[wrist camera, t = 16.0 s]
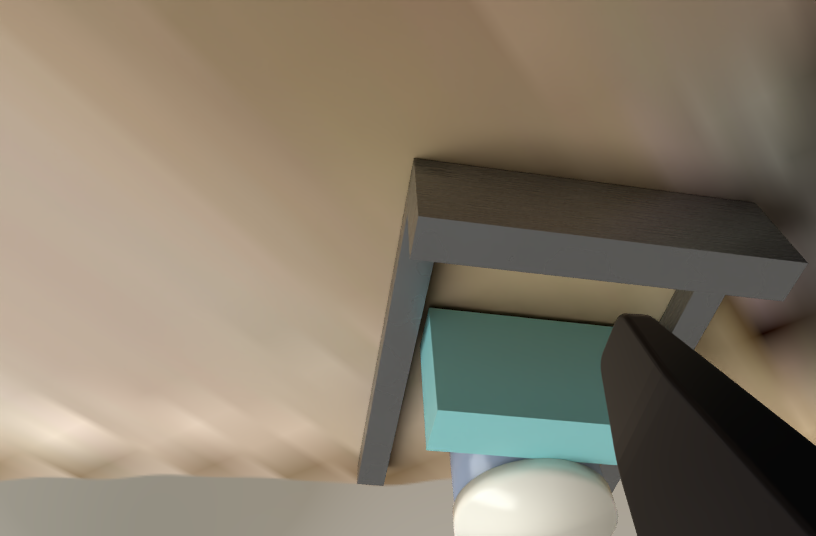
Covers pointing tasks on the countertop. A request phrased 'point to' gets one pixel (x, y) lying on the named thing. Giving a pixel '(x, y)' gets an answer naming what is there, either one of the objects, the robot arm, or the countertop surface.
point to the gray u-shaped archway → (566, 259)
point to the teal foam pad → (515, 387)
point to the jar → (529, 497)
